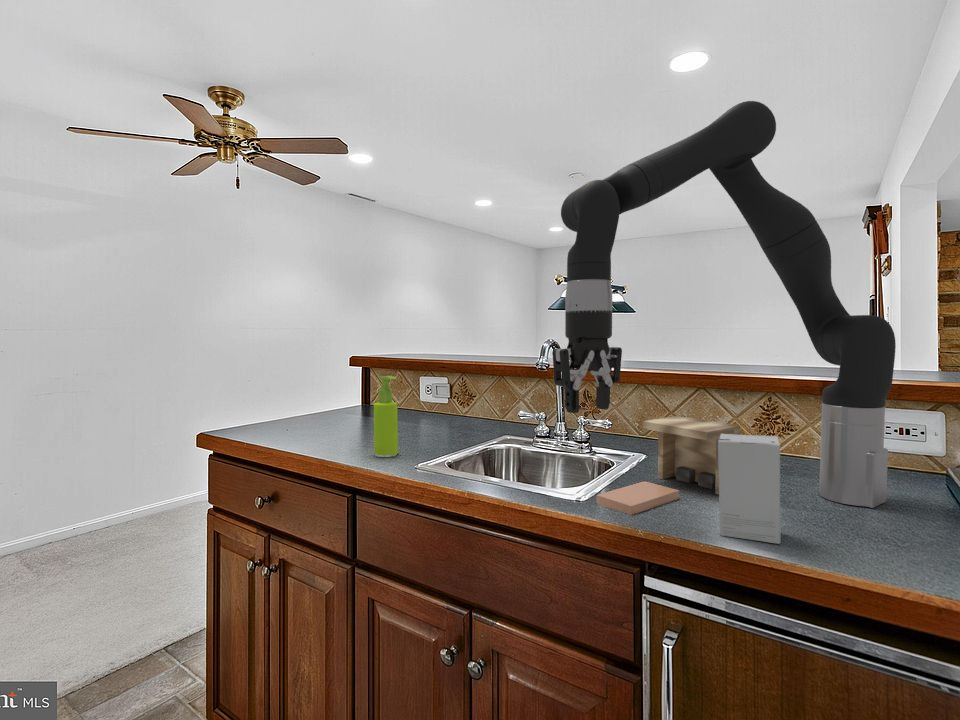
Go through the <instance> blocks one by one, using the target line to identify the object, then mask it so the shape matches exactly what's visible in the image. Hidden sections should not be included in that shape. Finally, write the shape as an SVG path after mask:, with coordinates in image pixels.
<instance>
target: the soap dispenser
mask: <svg viewBox="0 0 960 720" xmlns="http://www.w3.org/2000/svg"><path fill="white" fill-rule="evenodd" d="M378 380H381V387H380V388H378V392H377V393H378V401H377V402H375V403H373V449H374V450H373V451H374V453H375V454H377V455H395V454H397V453H398V454H399V428H398V426H399V424H398V421H399V420H398V417H399V416H398V414H399V413H398V412H399V411H398V402H396V401H393V389H392V388H391V387H389V383H390V382H391V381H397V377H395V376H393V375H382V376H378ZM389 381H390V382H389ZM374 453H373V454H374Z"/></svg>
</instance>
